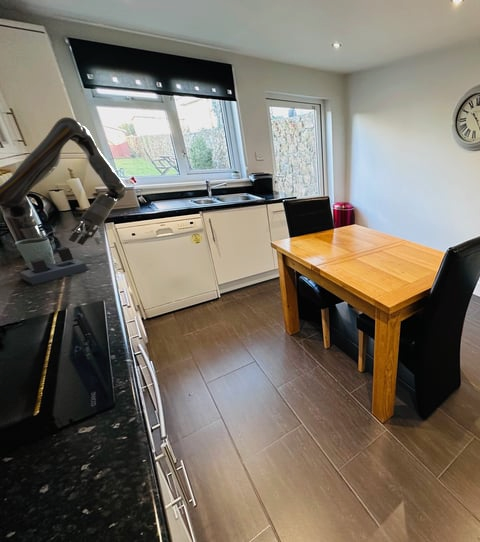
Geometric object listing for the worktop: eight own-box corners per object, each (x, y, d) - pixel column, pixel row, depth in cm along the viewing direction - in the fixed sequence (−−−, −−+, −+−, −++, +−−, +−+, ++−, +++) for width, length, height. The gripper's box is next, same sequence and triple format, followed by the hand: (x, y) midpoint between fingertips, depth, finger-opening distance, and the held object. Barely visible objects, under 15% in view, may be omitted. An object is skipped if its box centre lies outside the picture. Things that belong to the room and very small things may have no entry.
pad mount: (23, 279, 116) (19, 271, 115) (77, 265, 131) (74, 258, 129) (33, 285, 112) (29, 277, 111) (88, 270, 127) (85, 262, 125)
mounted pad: (38, 278, 118) (29, 260, 115) (48, 275, 120) (39, 258, 117) (42, 280, 116) (33, 262, 113) (52, 277, 119) (43, 260, 116)
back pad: (63, 264, 131) (56, 248, 128) (71, 262, 134) (65, 246, 131) (67, 266, 130) (60, 250, 126) (75, 264, 132) (68, 248, 129)
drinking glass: (21, 268, 127) (8, 242, 122) (48, 260, 136) (38, 236, 131) (37, 270, 124) (25, 245, 120) (64, 262, 133) (54, 238, 129)
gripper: (112, 220, 137) (91, 248, 132) (97, 216, 143) (77, 244, 138) (95, 211, 131) (72, 241, 126) (80, 207, 136) (58, 236, 132)
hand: (75, 242), depth 132 cm, fingers open, 8 cm apart
